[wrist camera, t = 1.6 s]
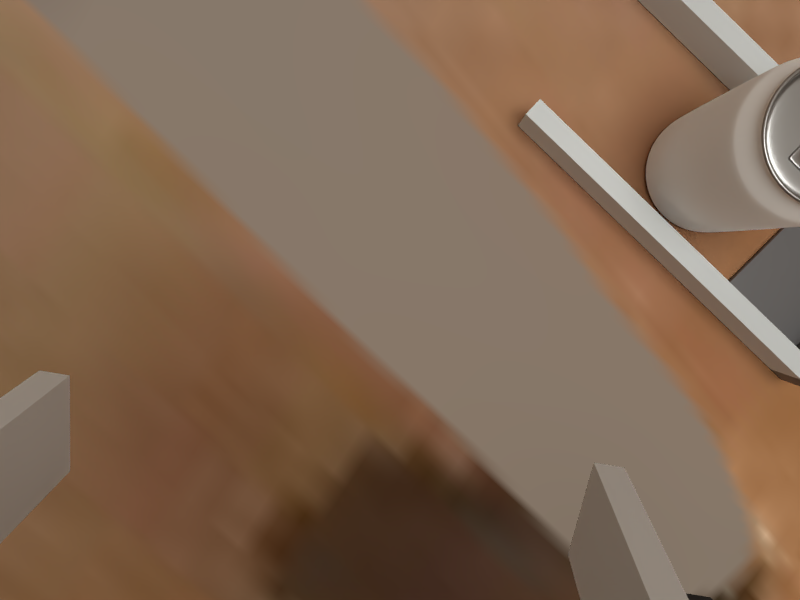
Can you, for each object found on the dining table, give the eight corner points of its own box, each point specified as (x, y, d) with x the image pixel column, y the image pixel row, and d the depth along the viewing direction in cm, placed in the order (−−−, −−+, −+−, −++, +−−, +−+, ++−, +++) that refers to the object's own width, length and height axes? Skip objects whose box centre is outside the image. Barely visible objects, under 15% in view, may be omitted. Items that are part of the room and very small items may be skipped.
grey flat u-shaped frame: (918, 246, 35) (963, 246, 32) (781, 379, 36) (812, 391, 33) (650, -15, 35) (671, -40, 32) (517, 125, 36) (525, 114, 33)
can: (790, 168, 35) (975, 126, 23) (704, 257, 36) (842, 261, 24) (702, 86, 35) (843, 1, 23) (617, 176, 36) (712, 139, 24)
